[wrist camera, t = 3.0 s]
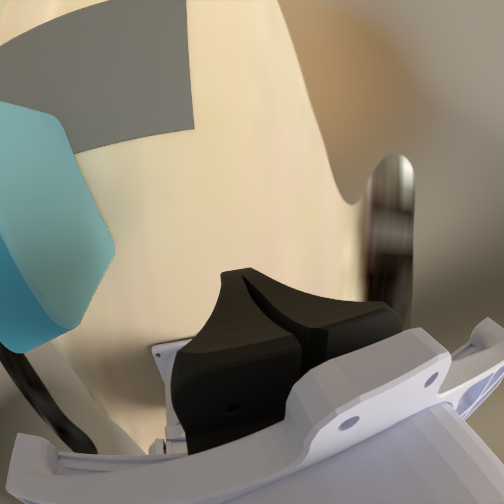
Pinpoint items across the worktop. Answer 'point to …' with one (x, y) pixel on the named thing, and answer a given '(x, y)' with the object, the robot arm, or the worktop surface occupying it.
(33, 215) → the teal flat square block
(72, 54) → the mat
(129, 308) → the worktop surface
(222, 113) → the worktop surface
